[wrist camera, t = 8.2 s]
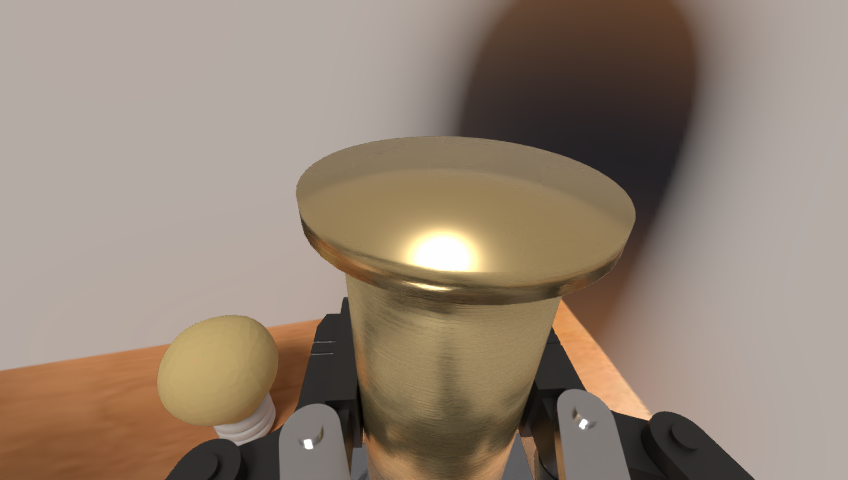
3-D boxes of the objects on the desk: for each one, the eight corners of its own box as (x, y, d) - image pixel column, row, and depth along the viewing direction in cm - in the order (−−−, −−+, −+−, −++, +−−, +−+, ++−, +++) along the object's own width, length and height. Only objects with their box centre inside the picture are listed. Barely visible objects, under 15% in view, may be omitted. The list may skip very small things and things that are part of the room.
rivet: (352, 619, 11) (237, 279, 3) (363, 439, 15) (326, 135, 8) (519, 597, 11) (741, 263, 4) (480, 430, 16) (546, 137, 9)
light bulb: (296, 377, 28) (270, 288, 22) (296, 457, 23) (262, 366, 17) (210, 398, 26) (159, 306, 21) (190, 489, 21) (115, 400, 16)
